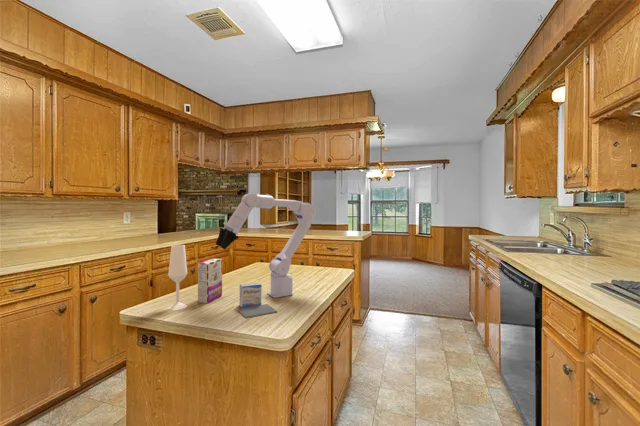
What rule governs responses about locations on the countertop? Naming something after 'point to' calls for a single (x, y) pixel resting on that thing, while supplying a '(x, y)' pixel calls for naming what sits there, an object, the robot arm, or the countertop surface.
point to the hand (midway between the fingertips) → (220, 246)
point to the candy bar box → (209, 280)
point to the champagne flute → (177, 271)
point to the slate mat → (256, 310)
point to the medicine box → (250, 294)
